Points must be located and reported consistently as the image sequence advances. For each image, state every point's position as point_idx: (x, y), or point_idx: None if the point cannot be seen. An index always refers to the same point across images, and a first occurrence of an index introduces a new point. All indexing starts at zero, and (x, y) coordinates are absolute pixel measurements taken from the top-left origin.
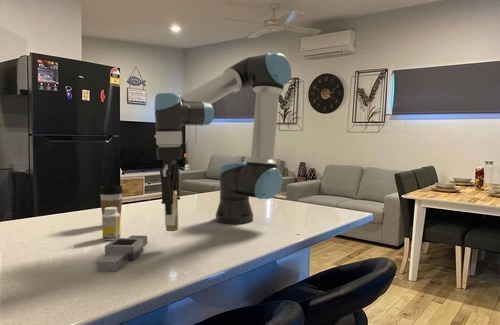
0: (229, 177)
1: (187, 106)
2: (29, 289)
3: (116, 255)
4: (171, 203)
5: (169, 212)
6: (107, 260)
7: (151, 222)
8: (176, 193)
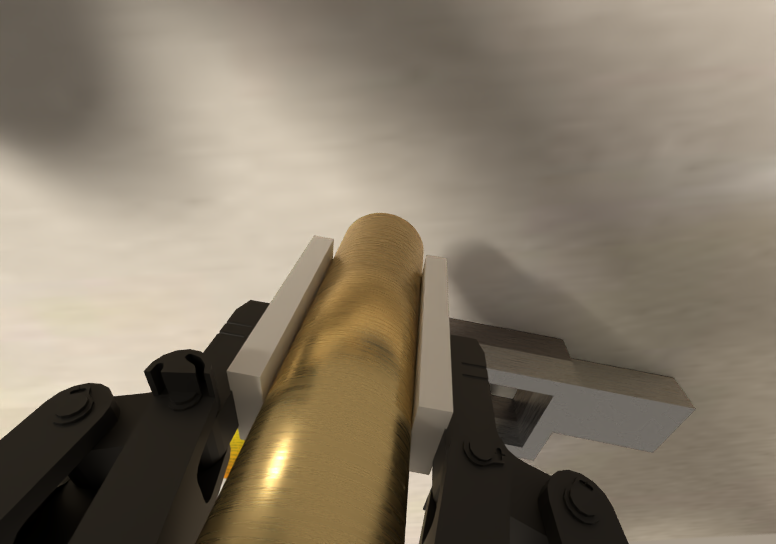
0: None
1: None
2: (709, 512)
3: (601, 412)
4: (494, 440)
5: (481, 367)
6: (655, 430)
7: (18, 316)
8: (316, 524)
